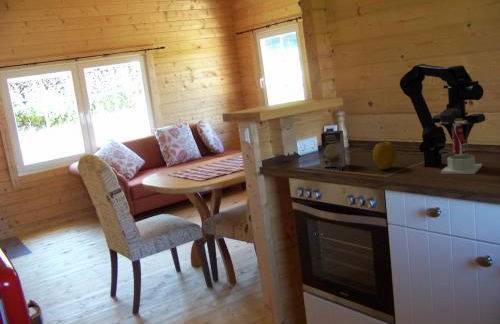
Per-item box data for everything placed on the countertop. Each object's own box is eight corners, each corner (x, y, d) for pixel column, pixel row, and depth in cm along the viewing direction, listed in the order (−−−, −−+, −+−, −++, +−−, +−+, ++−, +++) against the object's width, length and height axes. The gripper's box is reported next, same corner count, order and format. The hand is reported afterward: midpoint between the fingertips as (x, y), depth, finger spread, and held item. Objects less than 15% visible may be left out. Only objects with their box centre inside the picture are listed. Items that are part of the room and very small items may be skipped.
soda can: (451, 154, 200) (448, 123, 198) (464, 152, 200) (462, 121, 199) (457, 156, 195) (454, 124, 193) (471, 154, 195) (468, 122, 193)
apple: (396, 170, 213) (394, 142, 211) (372, 172, 216) (369, 144, 214) (398, 165, 222) (396, 138, 220) (375, 166, 225) (372, 140, 223)
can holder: (441, 173, 198) (440, 160, 197) (449, 166, 207) (448, 154, 206) (474, 173, 191) (473, 160, 190) (481, 166, 200) (481, 153, 199)
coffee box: (323, 168, 238) (319, 133, 235) (327, 165, 243) (323, 131, 240) (343, 167, 234) (339, 132, 231) (347, 164, 239) (343, 129, 236)
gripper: (422, 103, 197) (425, 144, 200) (467, 102, 182) (470, 146, 185) (439, 99, 203) (442, 138, 206) (484, 97, 188) (487, 140, 191)
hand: (459, 140), depth 197 cm, fingers closed on soda can, 5 cm apart
